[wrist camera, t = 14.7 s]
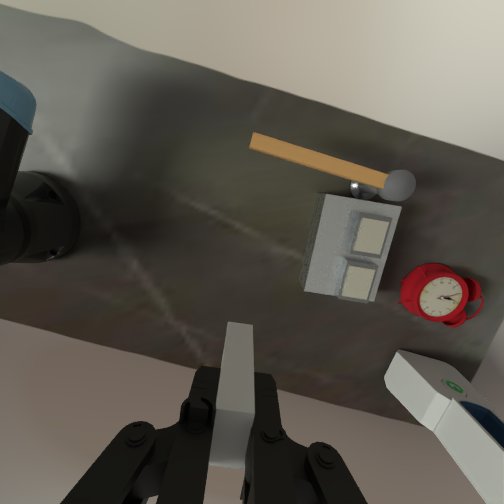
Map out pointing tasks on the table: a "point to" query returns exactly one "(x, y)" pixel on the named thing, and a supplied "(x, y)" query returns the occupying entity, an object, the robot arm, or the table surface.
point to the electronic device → (453, 418)
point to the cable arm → (341, 168)
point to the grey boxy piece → (348, 245)
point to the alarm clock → (439, 294)
